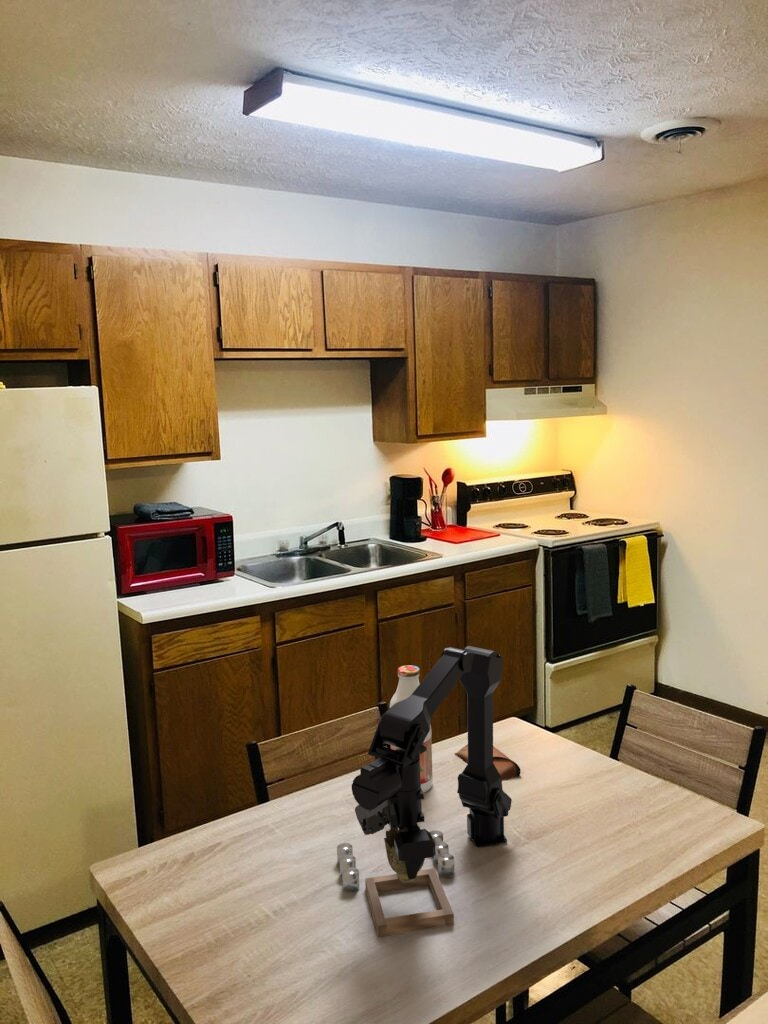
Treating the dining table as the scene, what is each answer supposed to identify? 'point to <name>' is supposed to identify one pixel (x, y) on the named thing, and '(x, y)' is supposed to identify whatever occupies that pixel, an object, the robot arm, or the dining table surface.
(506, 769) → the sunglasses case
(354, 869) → the spacer posts
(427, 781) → the white plastic bottle
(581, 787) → the dining table surface
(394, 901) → the dining table surface
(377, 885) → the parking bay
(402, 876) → the ornate brass lampshade
